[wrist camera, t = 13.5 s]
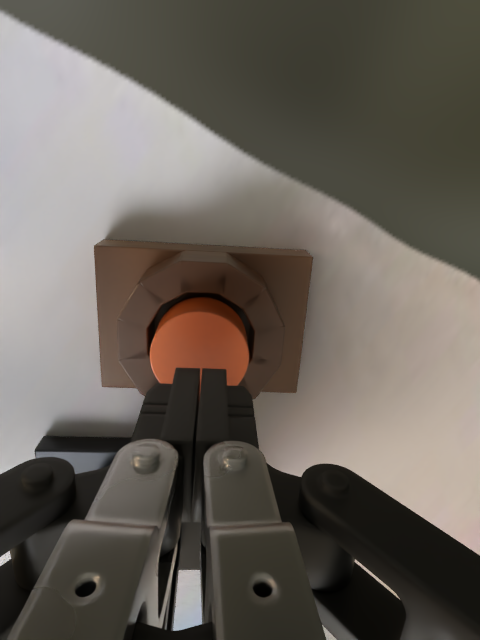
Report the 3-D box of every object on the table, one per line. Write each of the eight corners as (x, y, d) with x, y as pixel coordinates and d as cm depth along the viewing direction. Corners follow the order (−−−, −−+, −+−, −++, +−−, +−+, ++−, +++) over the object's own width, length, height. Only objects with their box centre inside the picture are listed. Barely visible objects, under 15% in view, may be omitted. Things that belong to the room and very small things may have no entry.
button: (156, 377, 17) (149, 400, 16) (155, 294, 16) (148, 309, 14) (243, 380, 18) (245, 403, 16) (249, 298, 16) (252, 313, 15)
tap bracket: (56, 551, 24) (-125, 989, 11) (43, 435, 22) (-216, 838, 9) (229, 552, 25) (241, 965, 12) (237, 439, 22) (264, 819, 9)
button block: (109, 372, 21) (88, 411, 17) (102, 238, 18) (77, 255, 15) (291, 378, 21) (304, 417, 18) (306, 250, 19) (324, 267, 16)
